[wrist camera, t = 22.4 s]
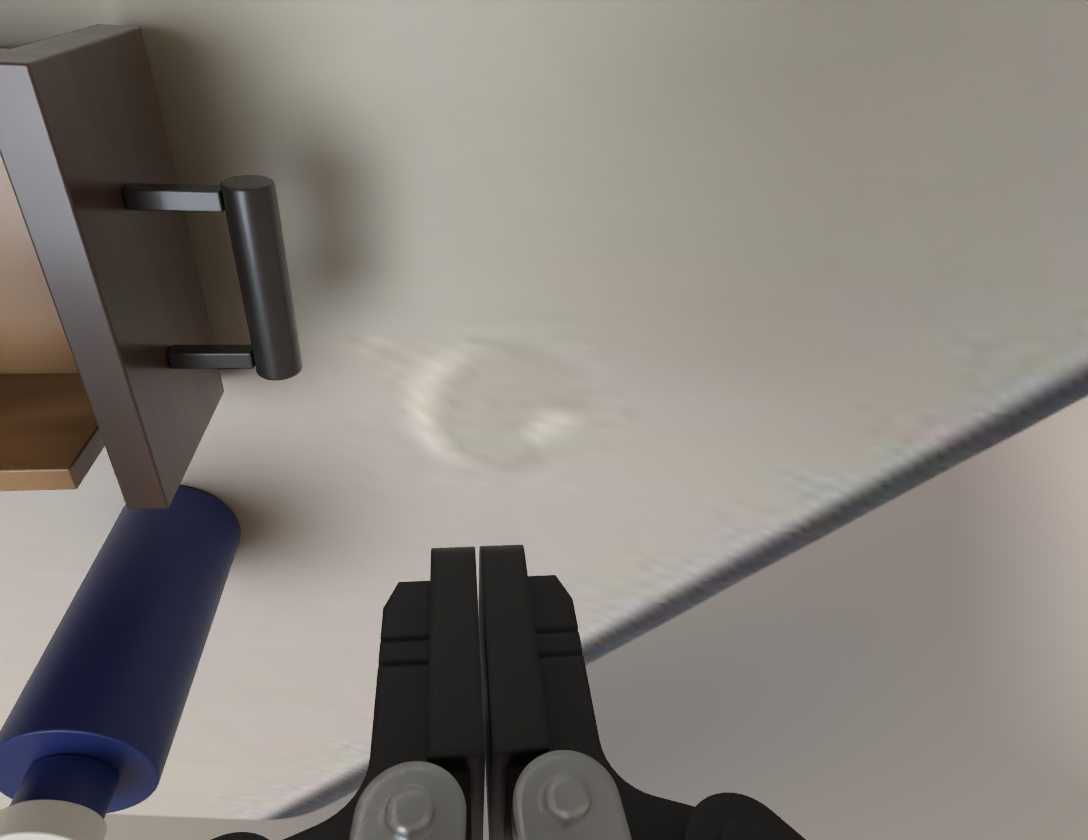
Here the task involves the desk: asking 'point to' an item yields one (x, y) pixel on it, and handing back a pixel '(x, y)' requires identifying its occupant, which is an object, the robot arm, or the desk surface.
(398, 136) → the desk surface
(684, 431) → the desk surface
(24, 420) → the drawer
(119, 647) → the bottle
